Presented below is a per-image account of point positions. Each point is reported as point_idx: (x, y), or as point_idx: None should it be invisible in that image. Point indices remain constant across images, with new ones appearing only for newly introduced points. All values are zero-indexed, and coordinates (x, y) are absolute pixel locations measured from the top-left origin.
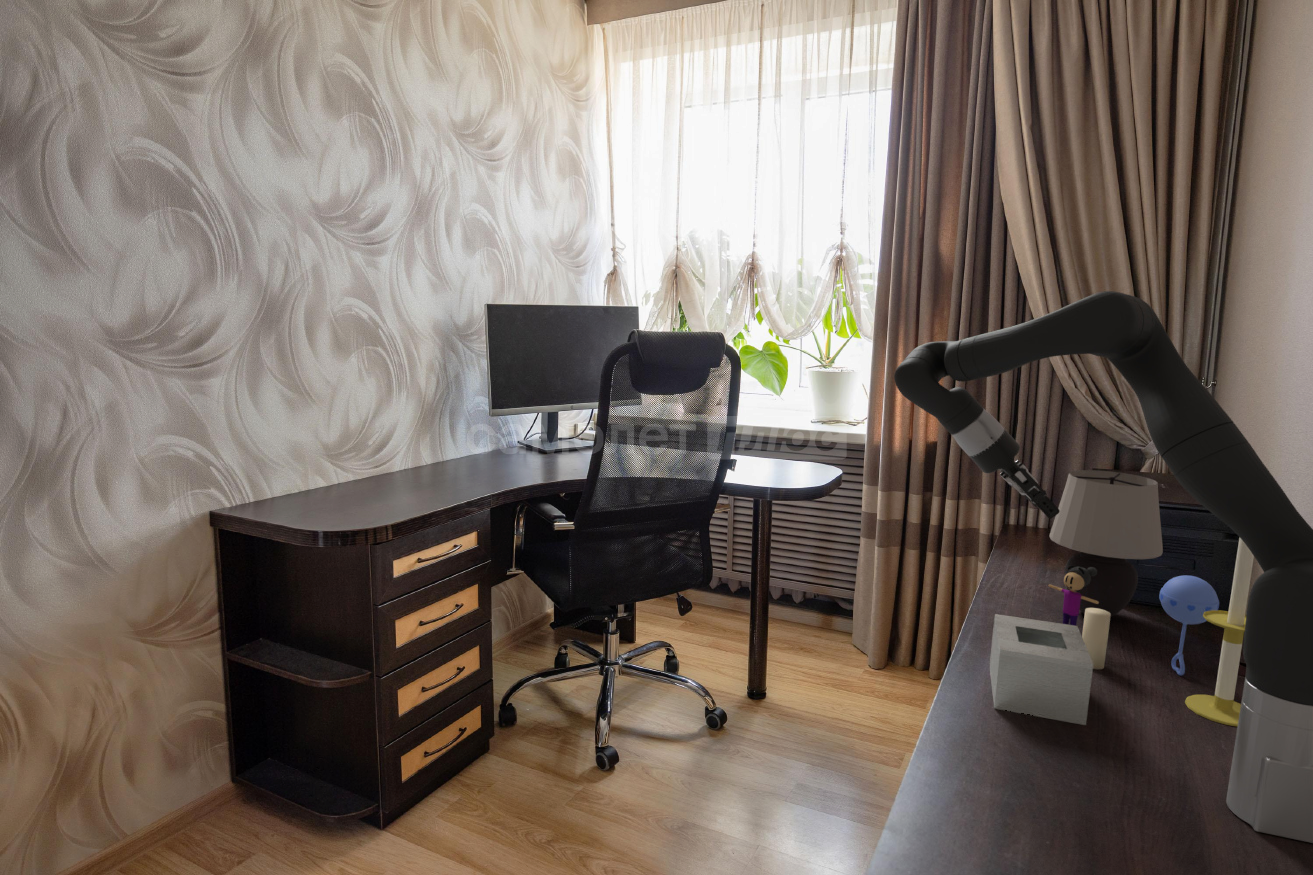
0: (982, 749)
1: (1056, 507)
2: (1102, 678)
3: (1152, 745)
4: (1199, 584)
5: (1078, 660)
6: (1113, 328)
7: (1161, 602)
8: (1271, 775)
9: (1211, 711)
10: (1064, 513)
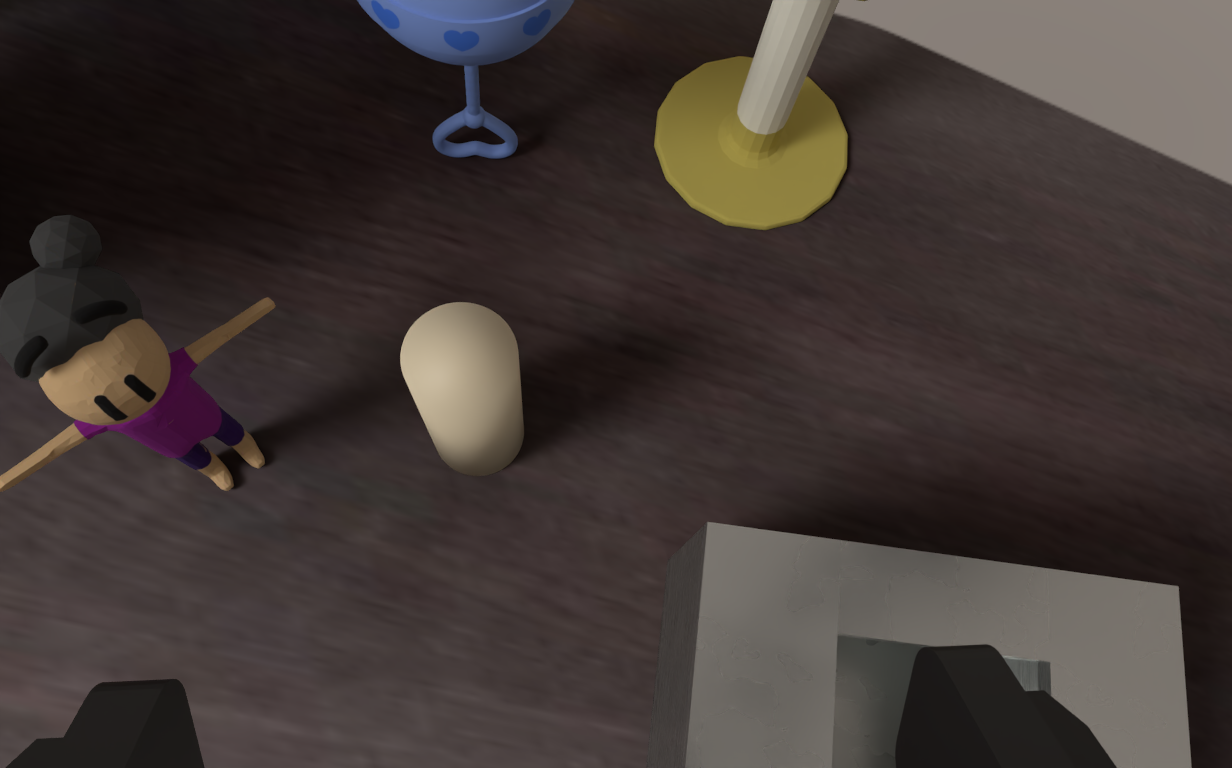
0: None
1: (1018, 697)
2: (607, 431)
3: (1076, 434)
4: None
5: (1165, 643)
6: None
7: (453, 55)
8: None
9: (783, 176)
10: None
